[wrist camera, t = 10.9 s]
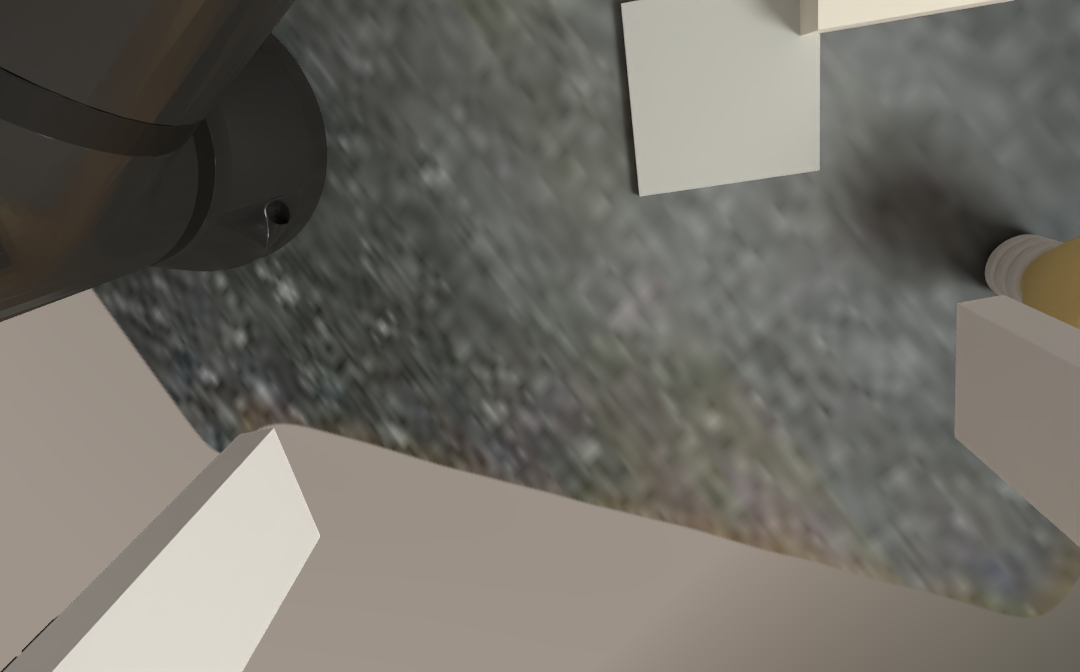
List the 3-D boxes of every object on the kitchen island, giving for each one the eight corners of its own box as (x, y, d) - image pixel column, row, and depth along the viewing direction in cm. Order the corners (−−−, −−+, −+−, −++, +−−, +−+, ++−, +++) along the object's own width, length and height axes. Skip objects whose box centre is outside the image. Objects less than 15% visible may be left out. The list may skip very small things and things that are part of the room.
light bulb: (932, 264, 36) (1056, 318, 26) (1033, 184, 34) (1205, 212, 24) (993, 336, 37) (1133, 413, 28) (1094, 263, 35) (1280, 319, 26)
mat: (638, 195, 35) (639, 196, 35) (620, 4, 32) (621, 3, 32) (817, 169, 34) (819, 170, 34) (817, -31, 31) (820, -33, 31)
